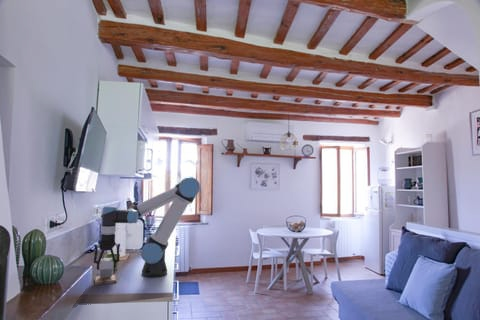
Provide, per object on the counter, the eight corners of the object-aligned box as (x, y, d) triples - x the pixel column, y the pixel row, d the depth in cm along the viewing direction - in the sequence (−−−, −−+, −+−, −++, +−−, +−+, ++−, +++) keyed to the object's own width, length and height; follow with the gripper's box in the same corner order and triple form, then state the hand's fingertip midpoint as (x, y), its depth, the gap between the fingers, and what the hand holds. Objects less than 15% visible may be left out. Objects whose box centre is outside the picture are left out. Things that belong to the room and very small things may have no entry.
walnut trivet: (115, 277, 189) (115, 274, 189) (116, 282, 178) (116, 280, 179) (94, 278, 184) (95, 276, 184) (94, 284, 174) (94, 282, 174)
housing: (111, 273, 186) (112, 257, 187) (111, 276, 180) (112, 260, 180) (100, 274, 184) (101, 258, 184) (100, 277, 177) (101, 260, 178)
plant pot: (103, 271, 199) (104, 257, 199) (103, 267, 207) (104, 254, 208) (119, 270, 202) (120, 256, 203) (119, 266, 211) (120, 253, 212)
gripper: (125, 231, 190) (123, 271, 189) (90, 232, 183) (87, 274, 181) (126, 233, 183) (124, 275, 182) (89, 235, 176) (87, 278, 174)
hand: (105, 274), depth 182 cm, fingers closed on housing, 6 cm apart
